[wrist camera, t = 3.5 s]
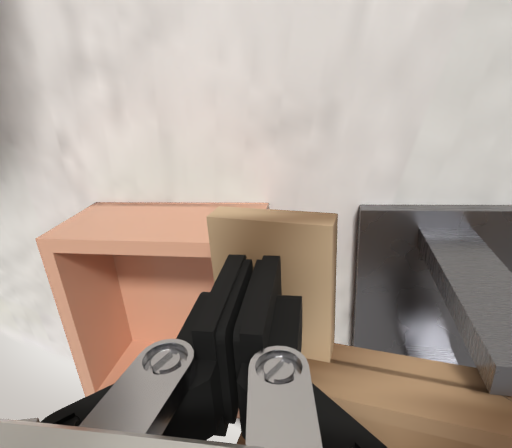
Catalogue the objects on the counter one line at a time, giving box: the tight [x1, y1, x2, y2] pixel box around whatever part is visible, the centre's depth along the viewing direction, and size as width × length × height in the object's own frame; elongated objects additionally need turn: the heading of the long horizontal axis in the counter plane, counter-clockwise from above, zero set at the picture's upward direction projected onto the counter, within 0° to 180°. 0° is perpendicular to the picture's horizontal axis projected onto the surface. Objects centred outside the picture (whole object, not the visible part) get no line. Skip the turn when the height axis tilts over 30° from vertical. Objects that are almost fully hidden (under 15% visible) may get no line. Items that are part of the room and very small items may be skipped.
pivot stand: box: [353, 205, 512, 396], centre depth 16 cm, size 8×10×10 cm
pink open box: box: [36, 202, 269, 418], centre depth 21 cm, size 10×10×5 cm
